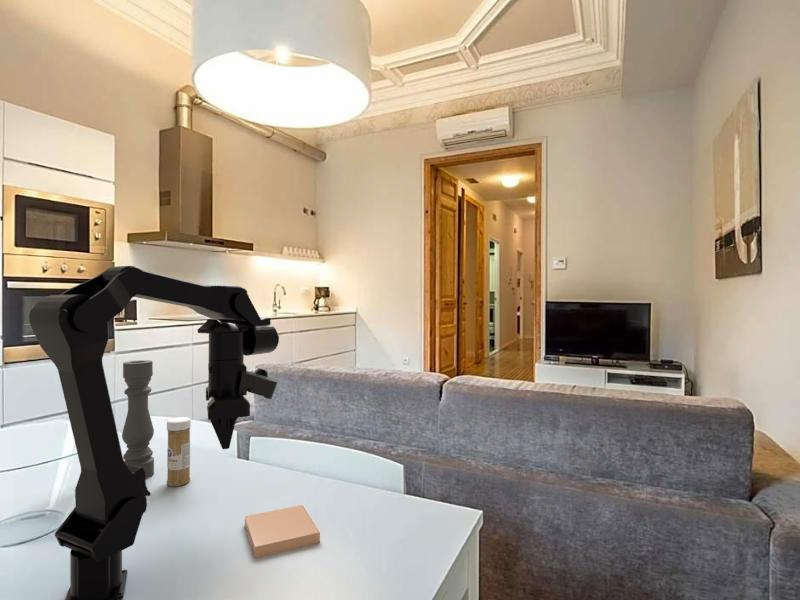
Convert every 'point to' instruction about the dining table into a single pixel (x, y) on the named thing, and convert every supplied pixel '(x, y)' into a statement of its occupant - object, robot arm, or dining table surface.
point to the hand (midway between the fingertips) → (225, 448)
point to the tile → (280, 530)
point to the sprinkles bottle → (178, 451)
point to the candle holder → (138, 416)
